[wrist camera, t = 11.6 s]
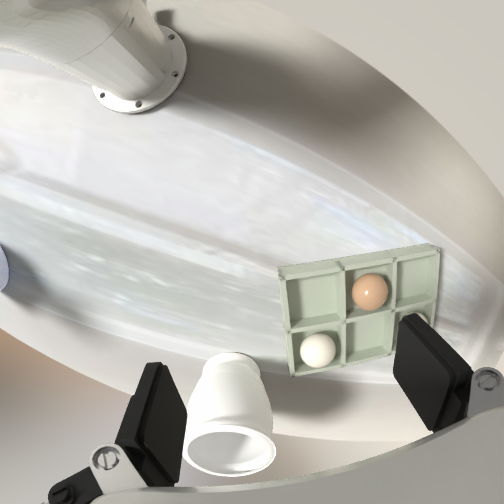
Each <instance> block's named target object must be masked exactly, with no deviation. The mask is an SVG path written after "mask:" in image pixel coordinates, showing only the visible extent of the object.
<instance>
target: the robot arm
mask: <svg viewBox="0 0 504 504" xmlns="http://www.w3.org/2000/svg"><path fill="white" fill-rule="evenodd" d="M172 39H173V40H172ZM0 47H4V48H9V49H12V50H15V51H19V52H21V53H24V54H26V55H29V56H31V57H34V58H36V59H38V60H41V61H43V62H45V63H47V64H49V65H51V66H53V67H55V68H58V69H60V70H62V71H64V72H66V73H68V74H70V75H72V76H74V77H76V78H78V79H80V80H82V81H84V82H86V83H88V84H90V85H92V88H93V91H94V94H95V96H96V97H97V99H98V100H99V102H100V103H101V104H103V105H104V106H105V107H107V108H108V109H110V110H113V111H115V112H118V113H125V114H132V113H139V112H143V111H146V110H148V109H151V108H153V107H155V106H157V105H158V104H160V103H162V102H163V101H164V100H165V99H166V98H168V97H169V96H170V95H171V94H172V93H173V92H174V90H175V89H176V88H177V87H178V85H179V83H180V82H181V80H182V78H183V76H184V73H185V71H186V66H187V52H186V48H185V45H184V43H183V41H182V40H181V38H180V37H179V35H178V34H177V33H175V32H174V31H173V30H172V29H170V28H168V27H166V26H162V25H158V24H156V22H155V20H154V19H153V17H152V16H151V14H150V12H149V11H148V9H147V0H0ZM175 75H178V76H177V77H175ZM104 96H105V97H104ZM141 104H142V106H141V107H139V106H140V105H141ZM393 374H394V377H395V379H396V380H397V382H398V383H399V385H400V386H401V388H402V389H403V391H404V392H405V394H406V396H407V397H408V399H409V400H410V402H411V403H412V405H413V407H414V408H415V410H416V411H417V413H418V414H419V416H420V418H421V419H422V421H423V422H424V424H425V426H426V427H427V429H428V430H429V431H431V430H432V431H433V434H431V435H429V436H426V437H424V438H422V439H420V440H417V441H415V442H413V443H410V444H408V445H405V446H403V447H400V448H398V449H395V450H392V451H389V452H387V453H384V454H381V455H378V456H376V457H372V458H369V459H366V460H363V461H360V462H356V463H353V464H350V465H346V466H342V467H339V468H334V469H331V470H327V471H322V472H318V473H313V474H309V475H304V476H299V477H293V478H288V479H281V480H275V481H268V482H260V483H251V484H241V485H228V486H208V487H174V484H175V483H178V481H179V475H180V468H181V460H182V453H183V446H184V439H185V432H186V425H187V418H188V414H187V410H186V408H185V405H184V403H183V401H182V399H181V397H180V395H179V392H178V390H177V388H176V386H175V383H174V381H173V379H172V376H171V374H170V372H169V369H168V367H167V366H166V365H163V364H162V363H161V362H153V363H147V364H146V366H145V368H144V371H143V373H142V376H141V379H140V381H139V384H138V387H137V389H136V392H135V395H133V396H132V397H131V399H130V401H129V404H128V407H127V409H126V412H125V415H124V418H123V421H122V423H121V426H120V429H119V432H118V434H117V438H116V440H115V443H114V444H112V443H106V444H102V445H99V446H98V447H96V448H95V449H94V450H93V451H92V452H91V454H90V456H89V465H90V466H89V467H87V468H85V469H83V470H82V471H80V472H78V473H76V474H74V475H72V476H70V477H68V478H67V479H65V480H63V481H61V482H59V483H57V484H55V485H54V486H53V487H52V488H51V489H50V491H49V494H48V500H49V502H48V503H47V504H504V377H503V375H502V374H501V373H500V372H499V371H498V370H496V369H494V368H490V367H483V368H480V369H478V370H476V371H475V372H473V370H472V369H471V367H470V366H469V365H468V364H467V363H466V362H465V360H464V359H463V358H462V357H461V356H460V355H459V354H458V353H457V352H456V351H455V350H454V349H453V348H452V347H451V346H450V345H449V344H448V343H447V342H446V341H445V340H444V339H443V338H442V337H441V336H440V335H439V334H438V333H437V332H436V331H435V330H434V329H433V328H432V327H431V326H430V325H429V324H428V323H427V322H425V321H424V320H423V319H422V318H421V317H420V316H419V315H418V314H417V313H412V314H409V315H405V316H403V317H402V320H401V321H399V324H398V334H397V343H396V352H395V359H394V366H393ZM42 504H46V503H44V502H43V503H42Z"/></svg>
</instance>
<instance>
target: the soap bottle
mask: <svg viewBox="0 0 504 504" xmlns="http://www.w3.org/2000/svg"><path fill="white" fill-rule="evenodd" d="M8 279H9V267H8V262H7V259H6V256H5V254H4V251H3V250H2V248H1V247H0V291H1V290H3V289H4V287H5V286H6V285H7V282H8Z"/></svg>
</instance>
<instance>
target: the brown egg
mask: <svg viewBox="0 0 504 504" xmlns="http://www.w3.org/2000/svg"><path fill="white" fill-rule="evenodd" d="M387 296H388V287H387V284H386V282H385V280H384V279H383V278H382V277H381V276H379V275H377V274H374V273H367V274H364V275H361V276H360V277H359V278H357V280H356V281H355V282H354V284H353V287H352V298H353V301H354V303H355V304H356V305H357V306H358V307H359V308H361V309H363V310H366V311H373V310H376V309H378V308H380V307H381V306H382V305H383V304H384V303H385V301H386V299H387Z"/></svg>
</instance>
